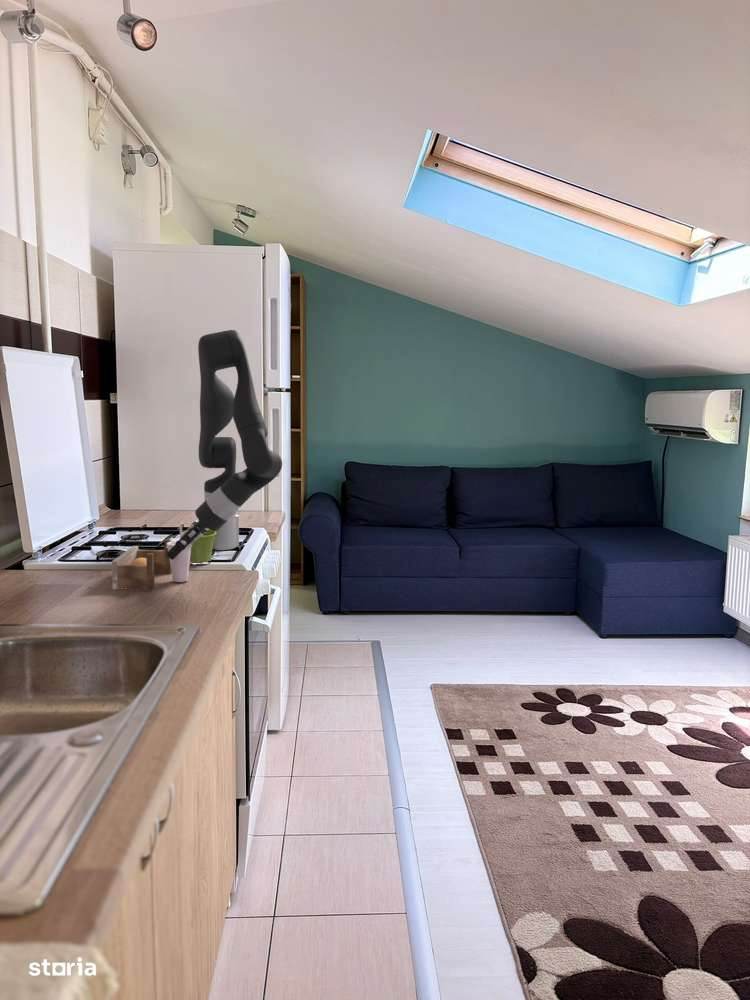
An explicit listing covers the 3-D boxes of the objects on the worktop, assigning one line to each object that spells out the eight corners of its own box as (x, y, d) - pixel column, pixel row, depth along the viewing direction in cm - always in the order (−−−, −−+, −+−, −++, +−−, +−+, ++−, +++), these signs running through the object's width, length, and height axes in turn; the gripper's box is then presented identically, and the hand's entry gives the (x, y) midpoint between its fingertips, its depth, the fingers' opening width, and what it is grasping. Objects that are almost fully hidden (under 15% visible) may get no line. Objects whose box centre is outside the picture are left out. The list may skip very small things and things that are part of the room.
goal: (171, 572, 215) (170, 539, 213) (153, 590, 198) (152, 554, 197) (134, 571, 215) (133, 538, 214) (112, 589, 198) (111, 553, 197)
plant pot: (223, 561, 228) (223, 531, 226) (203, 568, 219) (202, 537, 218) (196, 557, 232) (195, 527, 230) (175, 564, 223) (174, 533, 222)
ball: (154, 557, 210) (139, 574, 211) (135, 549, 205) (121, 567, 206) (162, 571, 206) (147, 588, 207) (143, 564, 201) (129, 582, 202)
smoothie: (186, 584, 203) (185, 529, 200) (162, 582, 204) (161, 527, 202) (197, 577, 209) (196, 524, 206) (174, 576, 210) (172, 523, 208)
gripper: (214, 493, 210) (170, 537, 212) (200, 503, 195) (153, 549, 198) (235, 514, 210) (191, 557, 213) (223, 524, 196) (176, 571, 199)
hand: (173, 553), depth 205 cm, fingers closed on smoothie, 6 cm apart
